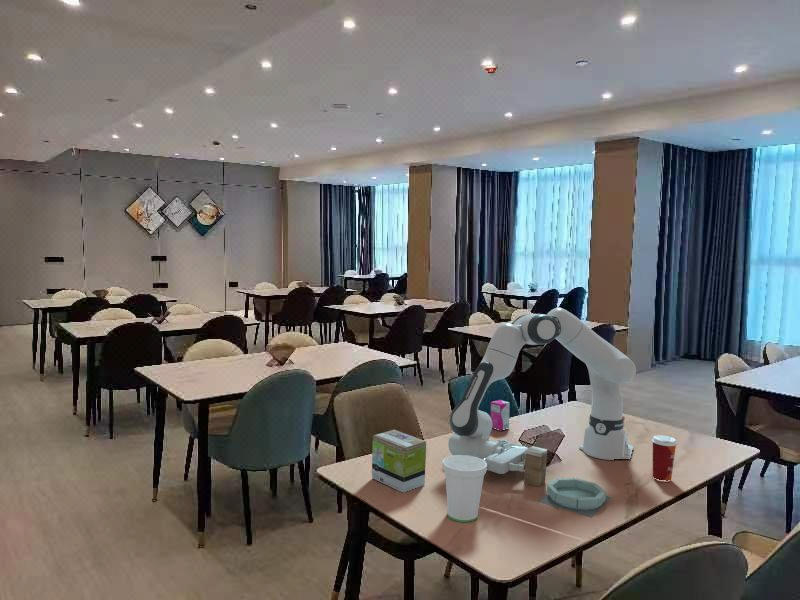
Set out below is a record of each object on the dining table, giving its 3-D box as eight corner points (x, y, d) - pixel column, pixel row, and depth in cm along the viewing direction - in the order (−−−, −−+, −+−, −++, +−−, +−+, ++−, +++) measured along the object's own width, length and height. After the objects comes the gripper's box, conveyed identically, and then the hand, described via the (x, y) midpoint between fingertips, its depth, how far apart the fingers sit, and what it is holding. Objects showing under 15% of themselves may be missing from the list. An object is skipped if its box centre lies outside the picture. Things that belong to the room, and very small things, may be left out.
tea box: (370, 479, 191) (371, 434, 190) (392, 471, 198) (394, 428, 197) (403, 494, 180) (404, 446, 179) (425, 485, 187) (427, 439, 186)
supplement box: (498, 425, 253) (499, 399, 252) (509, 429, 249) (510, 402, 248) (489, 428, 249) (490, 401, 248) (500, 431, 245) (501, 404, 244)
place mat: (561, 484, 191) (561, 483, 191) (611, 498, 182) (612, 497, 181) (538, 502, 177) (538, 501, 177) (591, 518, 167) (591, 517, 167)
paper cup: (677, 484, 194) (680, 443, 192) (651, 482, 195) (654, 440, 194) (671, 476, 201) (674, 435, 200) (647, 473, 203) (649, 433, 202)
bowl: (560, 484, 190) (561, 474, 190) (610, 498, 181) (611, 487, 180) (540, 500, 177) (540, 489, 177) (592, 516, 168) (593, 504, 168)
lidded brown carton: (530, 479, 195) (532, 446, 194) (545, 483, 192) (547, 449, 191) (523, 484, 191) (525, 450, 190) (538, 488, 188) (540, 453, 187)
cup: (493, 515, 167) (495, 462, 166) (467, 530, 158) (470, 474, 157) (457, 502, 176) (459, 451, 174) (431, 515, 166) (433, 462, 165)
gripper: (477, 453, 192) (516, 463, 183) (506, 438, 208) (543, 447, 200) (476, 472, 192) (515, 483, 184) (505, 455, 208) (542, 465, 200)
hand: (530, 464), depth 192 cm, fingers open, 8 cm apart
